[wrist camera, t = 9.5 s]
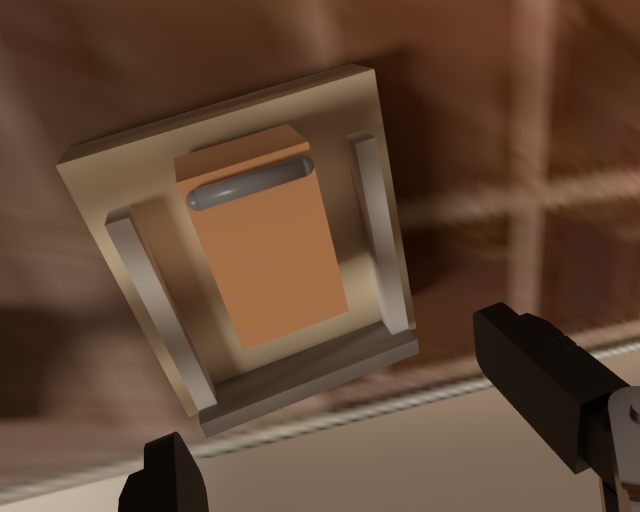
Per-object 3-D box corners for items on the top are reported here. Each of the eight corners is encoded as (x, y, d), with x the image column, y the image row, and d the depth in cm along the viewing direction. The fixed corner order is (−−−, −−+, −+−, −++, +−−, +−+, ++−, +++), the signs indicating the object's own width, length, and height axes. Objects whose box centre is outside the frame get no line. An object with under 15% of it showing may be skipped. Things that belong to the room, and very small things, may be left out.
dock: (67, 147, 22) (42, 184, 17) (351, 63, 24) (398, 75, 19) (185, 381, 30) (191, 451, 25) (395, 302, 32) (436, 353, 27)
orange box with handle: (173, 154, 21) (177, 190, 17) (284, 120, 21) (314, 146, 17) (231, 303, 25) (246, 362, 21) (323, 270, 25) (355, 320, 21)
